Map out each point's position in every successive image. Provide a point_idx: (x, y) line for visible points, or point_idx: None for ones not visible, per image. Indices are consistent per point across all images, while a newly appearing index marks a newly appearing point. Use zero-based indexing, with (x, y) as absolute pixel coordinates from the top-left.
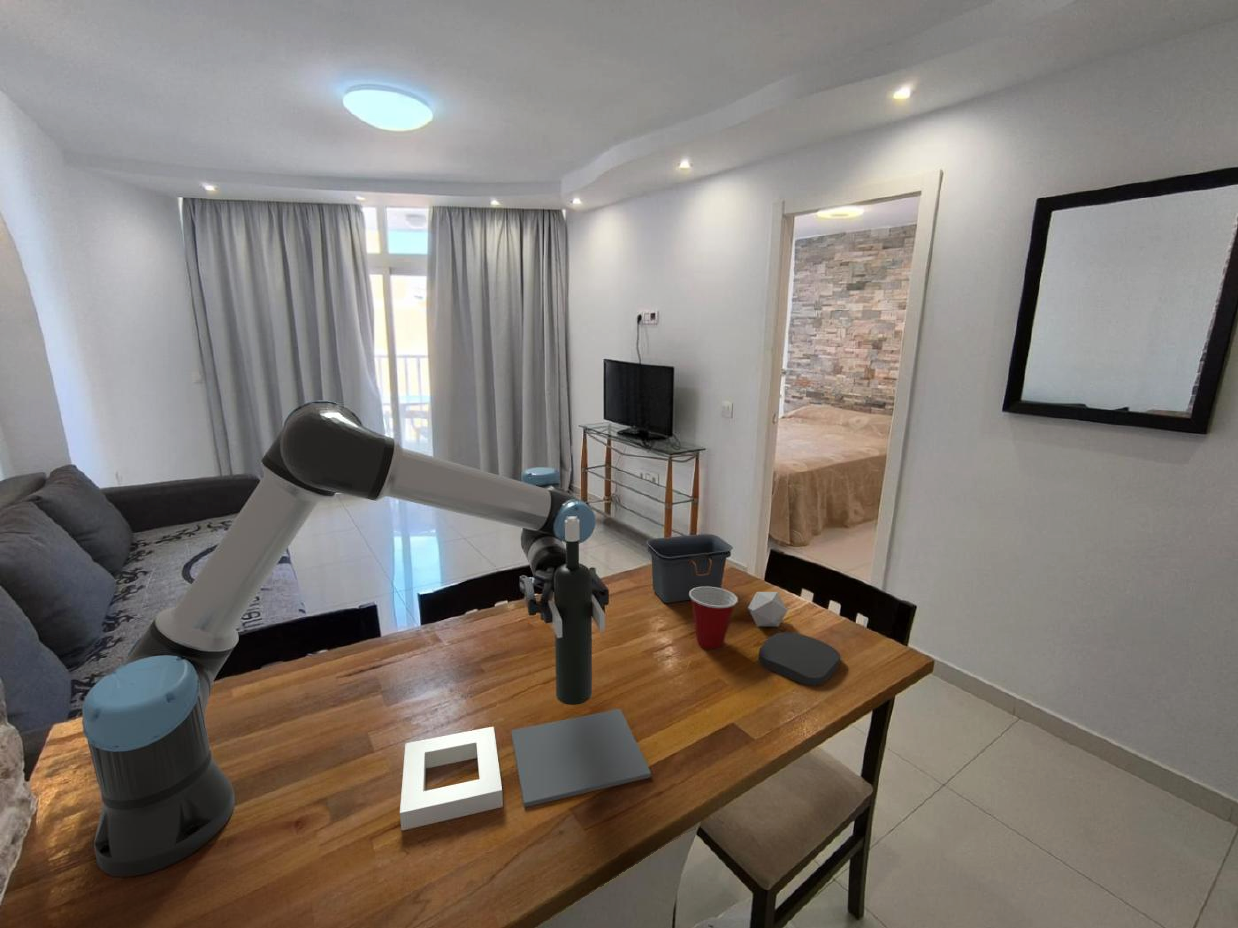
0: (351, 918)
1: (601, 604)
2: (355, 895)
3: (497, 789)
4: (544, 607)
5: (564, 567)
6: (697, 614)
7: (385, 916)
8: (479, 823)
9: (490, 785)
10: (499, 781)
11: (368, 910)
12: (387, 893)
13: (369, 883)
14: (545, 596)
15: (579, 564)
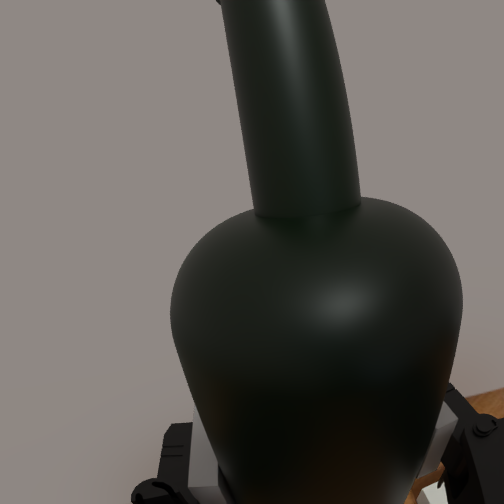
0: (489, 391)
1: (176, 442)
2: (499, 401)
3: (428, 487)
4: (460, 408)
5: (370, 199)
6: None
7: (468, 397)
8: (435, 477)
9: (439, 490)
10: (429, 499)
11: (482, 397)
12: (478, 408)
13: (496, 410)
14: (493, 463)
15: (245, 221)
